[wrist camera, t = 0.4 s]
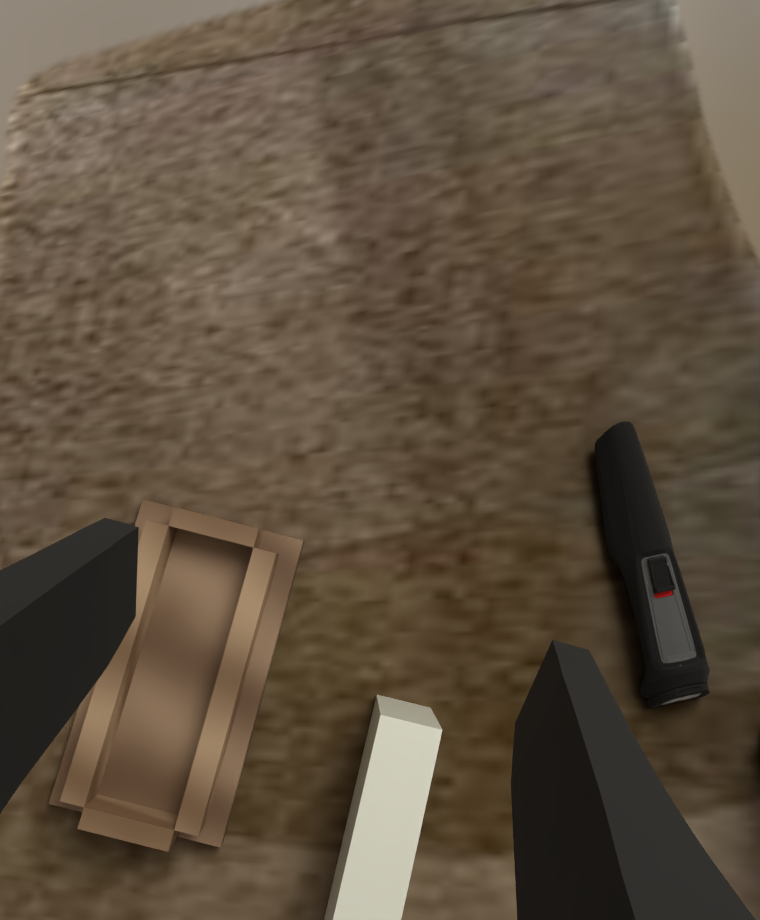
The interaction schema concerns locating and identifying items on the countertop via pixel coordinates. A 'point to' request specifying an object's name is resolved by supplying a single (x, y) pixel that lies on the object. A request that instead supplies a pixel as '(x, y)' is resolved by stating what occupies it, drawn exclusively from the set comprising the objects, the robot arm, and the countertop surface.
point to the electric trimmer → (649, 571)
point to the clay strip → (385, 813)
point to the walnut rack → (180, 682)
